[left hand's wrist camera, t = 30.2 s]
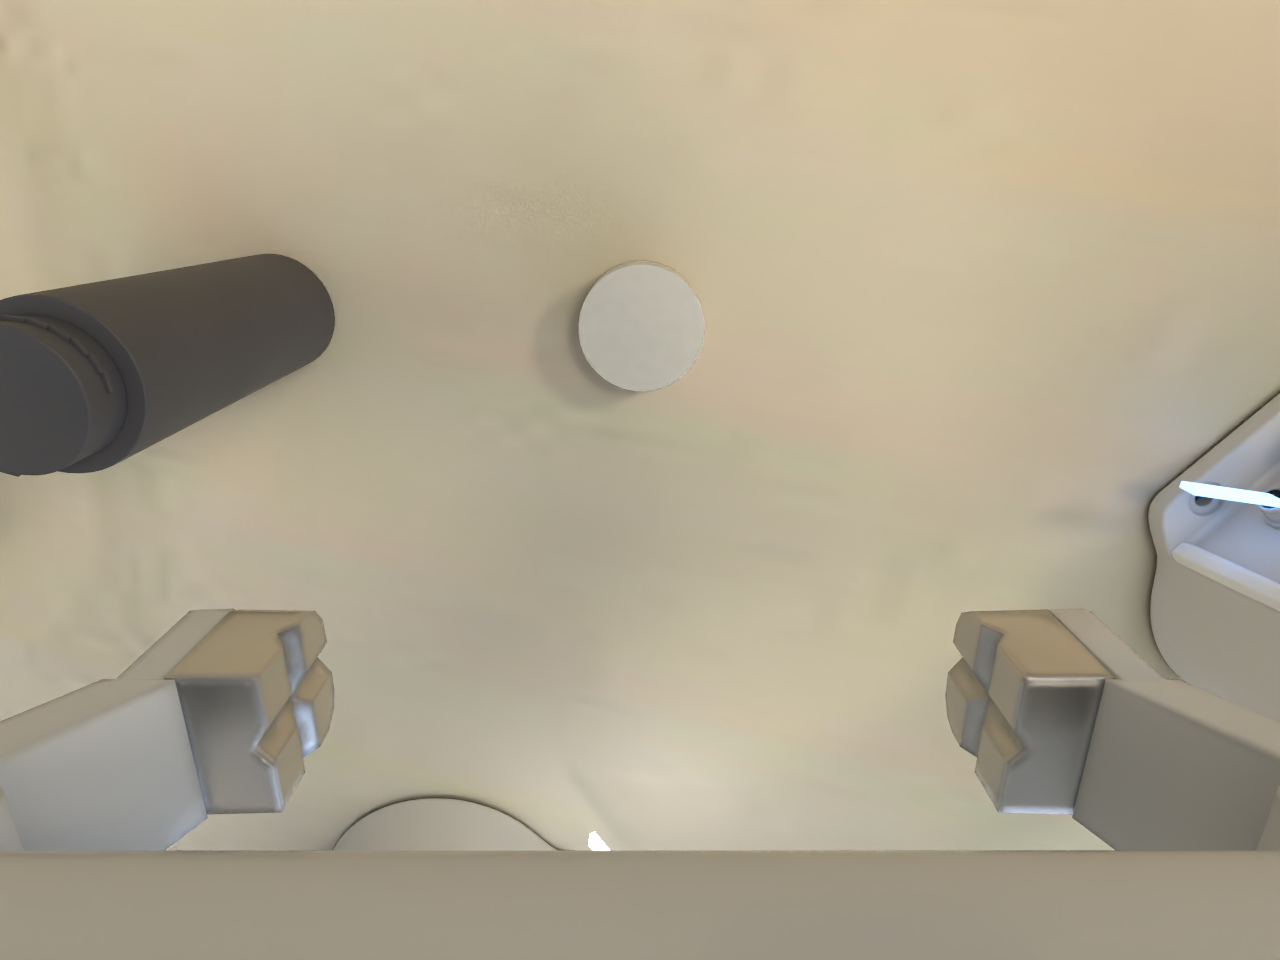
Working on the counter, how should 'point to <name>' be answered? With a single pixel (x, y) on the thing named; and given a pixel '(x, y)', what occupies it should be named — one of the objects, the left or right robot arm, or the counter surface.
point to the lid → (641, 326)
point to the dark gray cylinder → (147, 356)
